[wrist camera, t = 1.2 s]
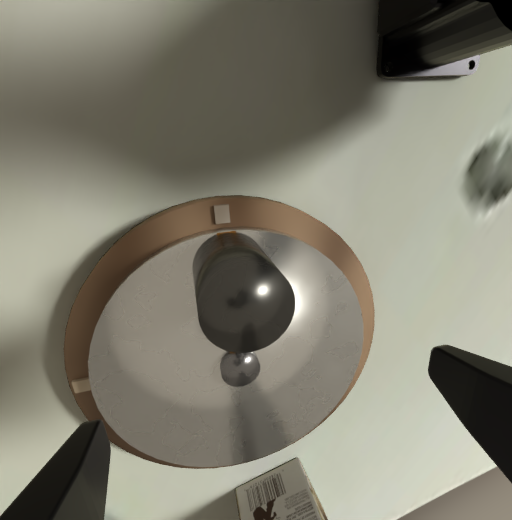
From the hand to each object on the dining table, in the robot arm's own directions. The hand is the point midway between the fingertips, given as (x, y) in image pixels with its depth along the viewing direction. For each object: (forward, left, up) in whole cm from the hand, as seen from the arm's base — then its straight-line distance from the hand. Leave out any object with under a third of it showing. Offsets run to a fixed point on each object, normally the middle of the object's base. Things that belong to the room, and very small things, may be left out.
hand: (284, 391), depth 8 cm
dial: (0, +7, -11) cm, 13 cm away
